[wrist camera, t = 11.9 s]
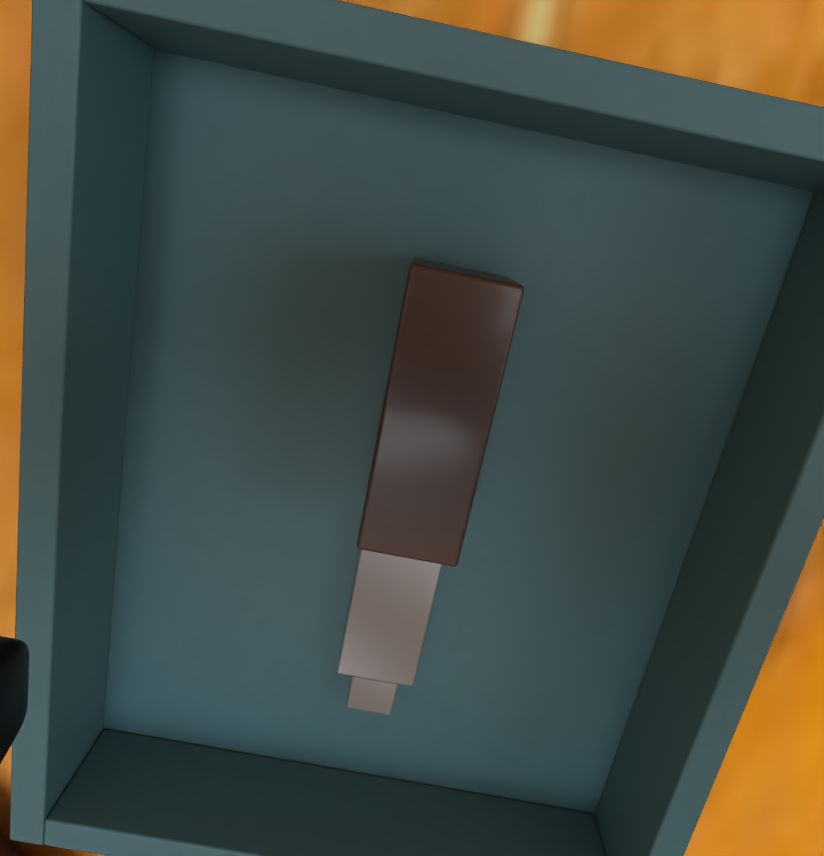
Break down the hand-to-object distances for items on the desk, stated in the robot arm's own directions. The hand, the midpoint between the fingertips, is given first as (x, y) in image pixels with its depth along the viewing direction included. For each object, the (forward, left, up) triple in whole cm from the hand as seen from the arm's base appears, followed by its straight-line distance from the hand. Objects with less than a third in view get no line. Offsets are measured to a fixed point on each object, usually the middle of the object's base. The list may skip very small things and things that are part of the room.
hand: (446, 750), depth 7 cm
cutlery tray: (0, +1, -10) cm, 10 cm away
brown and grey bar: (0, +1, -9) cm, 9 cm away
